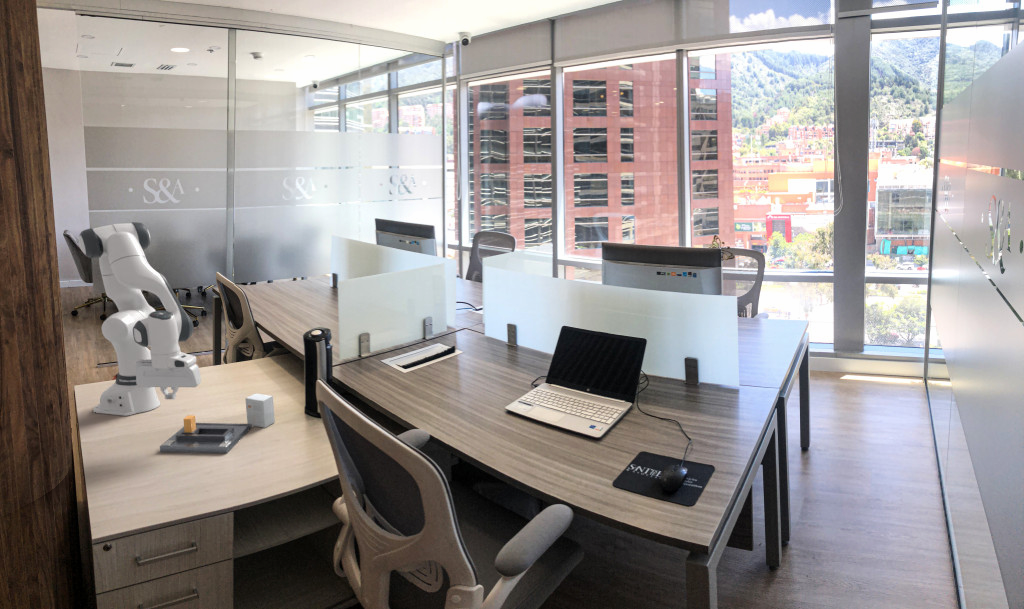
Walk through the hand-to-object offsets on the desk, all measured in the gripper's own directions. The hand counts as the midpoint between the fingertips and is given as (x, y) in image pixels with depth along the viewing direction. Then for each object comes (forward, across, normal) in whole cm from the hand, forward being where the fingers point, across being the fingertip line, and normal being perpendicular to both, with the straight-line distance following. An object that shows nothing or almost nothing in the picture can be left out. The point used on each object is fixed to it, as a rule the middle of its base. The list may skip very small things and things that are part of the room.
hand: (170, 398), depth 220 cm
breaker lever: (+13, +5, 0) cm, 14 cm away
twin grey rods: (+15, +10, +12) cm, 22 cm away
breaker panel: (+15, +10, 0) cm, 19 cm away
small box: (+16, +23, +16) cm, 33 cm away
